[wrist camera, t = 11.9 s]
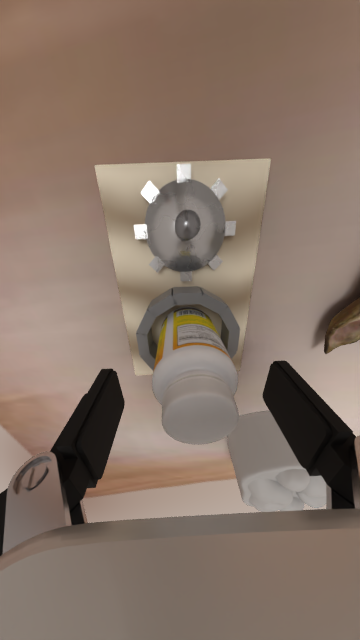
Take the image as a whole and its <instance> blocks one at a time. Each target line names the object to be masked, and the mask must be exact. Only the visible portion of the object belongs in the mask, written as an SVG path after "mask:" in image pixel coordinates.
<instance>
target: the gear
mask: <svg viewBox="0 0 360 640" xmlns="http://www.w3.org/2000/svg"><path fill="white" fill-rule="evenodd" d="M227 190H228V189H227V188H226V187H225V185H224V184H223V183H222V181H221V180H220V179H219V178H218V179H217V181H216V182H215V183H214V184H213V186H212V187H211V188H209V187H208V186H206V185H205V184H203V183H201V182H199V181H196V180H192V179H191V164H177V180H175V181H172V182H170V183H168V184H166V185H165V186H163V187H162V188H161V189H160V190H159V191H158V189H157V188H156V187H155V186H154V185H153V184H152V183H151V182H150V181H149V182H148V183H147V185H146V186H145V188H144V189H143V190H142V192H141V194H142V196H143V197H144V198H145V199H146V201H147V202H148V203H149V206H148V208H147V212H146V216H145V224H143V225H134V231H135V238H136V239H137V240H147V244H148V246H149V248H150V250H151V252H152V254H153V255H154V256H155V258H154V259H153V260H152V261H151V262H150V264H149V265H150V266H151V267H152V268H153V269H154V270H155V271H156V272H157V273H158V272H159V271H160V270H161V268H162V267H163V266H166V267H167V268H169V269H172V270H175V271H179V272H180V280H181V281H192V271H195V270H198V269H200V268H202V267H204V266H205V265H208V266H209V267H210V268H211V269H212V270H215V269H216V268H217V267H218V266H219V265H220V264H221V263H222V262H223V261H222V260H221V259H220V258H219V257H218V256H217V255H216V254H217V253H218V251H219V249H220V247H221V245H222V243H223V240H224V236H234V235H235V228H236V221H225V215H224V210H223V207H222V205H221V203H220V201H219V200H220V199H221V197H222V196H223V195H224V194H225V193H226V191H227Z"/></svg>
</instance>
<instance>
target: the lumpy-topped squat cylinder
mask: <svg viewBox="0 0 360 640" xmlns="http://www.w3.org/2000/svg"><path fill="white" fill-rule="evenodd" d="M227 437H228V448H229V451H230V455H231V459H232V463H233V467H234V470H235V474H236V478H237V482H238V486H239V489H240V493H241V497H242V500H243V502H244V503H245V504H246V505H249V506H253V507H255V508H256V509H257V510H259V511H261V512H275V511H278V510H280V511H297V510H303V508H304V503H305V504H307V505H308V506H310V507H314V508H318V507H322V506H324V505H325V504H326V482H325V481H324V479H323V478H322V476H309V474H308V472H307V471H306V469H305V468H303V467H302V466H301V465H300V463H299V462H298V460H297V458H296V456H295V455H294V453H293V451H292V449H291V448H290V446H289V444H288V442H287V440H286V439H285V437H284V435H283V433H282V432H281V430H280V428H279V426H278V425H277V423H276V421H275V419H274V417H273V416H272V414H271V412H270V411H262V412H255V413H250V414H246V415H242V416H239V420H238V424H237V426H236V427H235V429H234V430H233V431H232V432H231V433H230V434H229V435H228V436H227Z"/></svg>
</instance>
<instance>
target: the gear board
mask: <svg viewBox="0 0 360 640" xmlns="http://www.w3.org/2000/svg"><path fill="white" fill-rule="evenodd" d="M270 162H271V158H269V159H242V160H215V161H189V162H162V163H135V164H108V165H94V166H95V171H96V176H97V181H98V186H99V191H100V196H101V202H102V207H103V212H104V217H105V222H106V227H107V232H108V237H109V243H110V248H111V253H112V258H113V263H114V268H115V273H116V278H117V283H118V289H119V294H120V299H121V304H122V309H123V314H124V319H125V324H126V330H127V335H128V340H129V345H130V350H131V355H132V360H133V365H134V371H135V376H136V375H153V370H152V369H151V368H150V367H149V366H148V365H147V364H146V363H145V361H144V360H143V359H142V358H141V357H140V356H141V355H139V349H138V343H137V337H136V331H137V329H138V327H139V325H140V323H141V321H142V319H143V317H144V315H145V312H146V310H147V308H148V306H149V304H150V302H151V301H152V300H153V299H155V298H156V297H158V296H160V295H161V294H163V293H164V292H166V291H167V290H169V289H170V288H172V289H173V287H189V286H198V287H202V288H204V289H205V290H207V291H209V292H211V293H213V294H215V295H217V296H218V297H220V298H221V299H222V300H223V301H224V302H225V303H226V304H227V305H228V306H229V308H230V310H231V312H232V314H233V315H234V317H235V319H236V321H237V323H238V325H239V327H240V335H239V343H238V351H236V352H237V353H236V354H235V355H234V357H233V358H232V359H231V360H232V361H233V364H234V366H235V368H236V371H240V366H241V359H242V352H243V346H244V339H245V332H246V325H247V318H248V312H249V305H250V298H251V291H252V285H253V278H254V271H255V264H256V257H257V251H258V244H259V237H260V230H261V223H262V217H263V210H264V203H265V196H266V190H267V183H268V176H269V169H270ZM177 164H191V179H192V180H196V181H199V182H201V183H203V184H205V185H206V186H208V187H209V188H211V187H212V186H213V184H214V183H215V182H216V181H217V179H218V178H219V179H220V180H221V181H222V183H223V184H224V185H225V187H226V188H227V189H228V190H227V191H226V193H225V194H224V195H223V196H222V197H221V199H220V200H219V201H220V203H221V205H222V207H223V210H224V215H225V221H236V228H235V235H234V236H224V240H223V243H222V245H221V247H220V249H219V251H218V253H217V254H216V255H217V256H218V257H219V258H220V259H221V260H222V261H223V262H222V263H221V264H220V265H219V266H218V267H217V268H216V269H215V270H212V269H211V268H210V267H209V266H208V265H205V266H204V267H202V268H200V269H198V270H195V271H192V281H181V280H180V272H179V271H175V270H172V269H169V268H167V267H166V266H163V267H162V268H161V270H160V271H159V272H158V273H157V272H156V271H155V270H154V269H153V268H152V267H151V266H150V265H149V264H150V262H151V261H152V260H153V259H154V258H155V256H154V255H153V254H152V252H151V250H150V248H149V246H148V244H147V240H137V239H136V238H135V231H134V225H143V224H145V216H146V212H147V208H148V206H149V203H148V202H147V201H146V199H145V198H144V197H143V196H142V194H141V192H142V190H143V189H144V188H145V186H146V185H147V183H148V182H149V181H150V182H151V183H152V184H153V185H154V186H155V187H156V188H157V189H158V191H159V190H160V189H161V188H162V187H163V186H165V185H166V184H168V183H170V182H172V181H175V180H177ZM182 307H194V308H197V309H200V310H202V311H203V312H204V313H206V314H207V315H208V316H209V318H210V319H211V321H212V323H213V325H214V327H215V329H216V331H217V333H218V335H219V337H220V338H221V329H222V319H221V318H220V316H219V314H218V313H216V312H214V311H212V310H210V309H208V308H206V307H204V306H202V305H200V304H192V305H175V306H174V307H172V308H170V309H169V310H167V311H165V312H164V313H162V314H160V315H159V316H157V317H156V318H155V320H154V322H153V324H152V326H151V328H152V336H153V341H154V342H155V343H156V344H157V346H158V343H159V337H160V331H161V327H162V323H163V321H164V319H165V318H166V317H167V315H168V314H170V313H171V312H172V311H174V310H176V309H178V308H182Z"/></svg>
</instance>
